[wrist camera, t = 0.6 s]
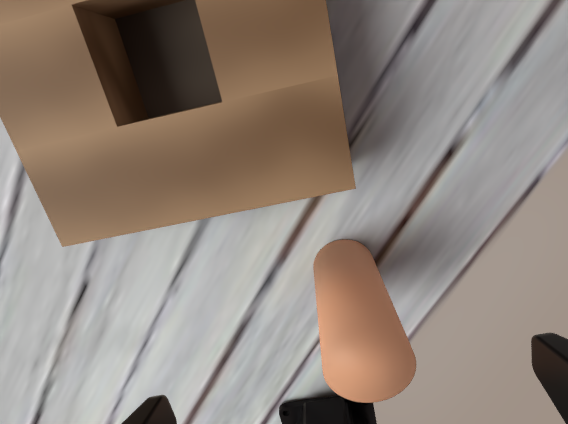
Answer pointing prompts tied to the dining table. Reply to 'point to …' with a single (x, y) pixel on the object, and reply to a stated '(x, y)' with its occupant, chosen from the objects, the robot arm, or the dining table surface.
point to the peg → (359, 326)
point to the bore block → (170, 108)
